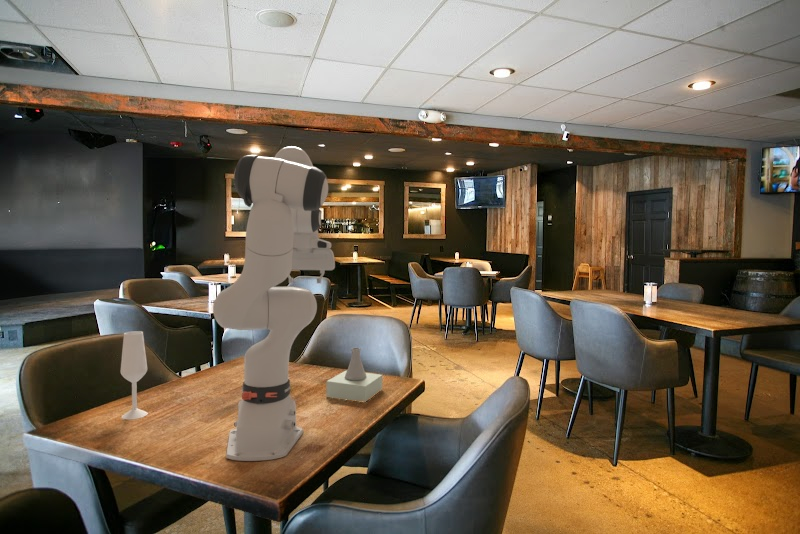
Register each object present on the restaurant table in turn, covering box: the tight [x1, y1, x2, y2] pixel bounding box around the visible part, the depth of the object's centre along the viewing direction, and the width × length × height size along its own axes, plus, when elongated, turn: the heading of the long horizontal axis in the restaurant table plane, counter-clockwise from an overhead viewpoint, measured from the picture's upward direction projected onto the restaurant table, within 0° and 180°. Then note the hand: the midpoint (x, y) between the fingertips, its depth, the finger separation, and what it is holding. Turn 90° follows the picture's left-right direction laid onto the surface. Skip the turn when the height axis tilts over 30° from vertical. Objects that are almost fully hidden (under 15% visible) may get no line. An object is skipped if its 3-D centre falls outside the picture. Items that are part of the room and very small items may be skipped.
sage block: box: [325, 369, 383, 403], centre depth 157 cm, size 14×14×6 cm
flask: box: [345, 347, 367, 380], centre depth 157 cm, size 7×7×10 cm
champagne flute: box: [120, 330, 149, 420], centre depth 134 cm, size 7×7×24 cm
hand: (305, 283), depth 161 cm, fingers open, 8 cm apart
